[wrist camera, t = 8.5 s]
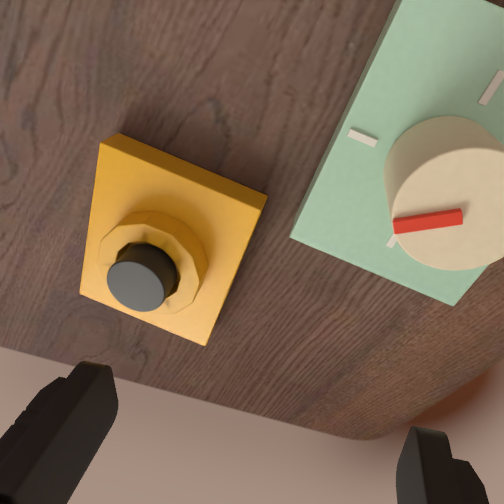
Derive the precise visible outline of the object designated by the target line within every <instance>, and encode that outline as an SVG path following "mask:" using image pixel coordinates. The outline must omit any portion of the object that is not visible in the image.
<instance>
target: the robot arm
mask: <svg viewBox="0 0 504 504" xmlns="http://www.w3.org/2000/svg"><path fill="white" fill-rule="evenodd" d="M117 411H118V398H117V393H116V388H115V383H114V378H113V373H112V369H111V367H110V366H108V365H103V364H98V363H93V362H87V361H82V362H80V363H79V364H78V365H77V366H76V367H75V368H74V369H73V371H72V372H71V373H70V375H69V376H68V377H67V378H63V377H58V378H57V379H56V380H54V381H53V382H51V383H50V384H49V385H47V386H46V387H44V388H43V389H41V390H40V391H39V392H38V394H37V395H36V396H35V397H34V399H33V400H32V401H31V402H30V403H29V405H28V406H27V407H26V410H25V411H23V412H22V413H21V415H19V417H18V418H17V419H16V420H15V423H14V425H11V426H10V428H9V429H8V430H7V431H6V432H5V434H4V435H3V436H2V437H1V439H0V504H67V502H68V501H69V499H70V497H71V495H72V494H73V492H74V490H75V489H76V487H77V485H78V483H79V481H80V480H81V478H82V476H83V475H84V473H85V471H86V470H87V468H88V466H89V464H90V463H91V461H92V459H93V457H94V456H95V454H96V452H97V451H98V449H99V447H100V445H101V444H102V442H103V440H104V439H105V437H106V435H107V433H108V432H109V430H110V428H111V427H112V425H113V423H114V421H115V418H116V415H117ZM396 490H397V501H398V504H489V502H488V498H487V495H486V491H485V487H484V485H483V483H482V482H481V480H480V479H479V477H478V475H477V474H476V472H475V471H474V469H473V468H472V466H471V465H470V463H469V462H468V461H463V460H458V459H453V458H452V453H451V449H450V444H449V440H448V437H447V435H446V434H445V433H444V432H441V431H436V430H430V429H425V428H420V427H415V426H412V427H411V428H410V430H409V433H408V436H407V439H406V441H405V444H404V447H403V450H402V452H401V455H400V458H399V461H398V465H397V471H396Z"/></svg>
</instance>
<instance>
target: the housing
mask: <svg viewBox="0 0 504 504" xmlns="http://www.w3.org/2000/svg"><path fill="white" fill-rule="evenodd" d="M267 198H268V196H267V195H265V194H262V193H260V192H258V191H255V190H253V189H250V188H248V187H246V186H243V185H241V184H239V183H236V182H234V181H232V180H229V179H227V178H224V177H222V176H220V175H217V174H215V173H213V172H210V171H208V170H206V169H203V168H201V167H198V166H196V165H194V164H191V163H189V162H187V161H184V160H182V159H179V158H177V157H175V156H172V155H170V154H168V153H165V152H163V151H161V150H158V149H156V148H153V147H151V146H149V145H146V144H144V143H142V142H139V141H137V140H134V139H132V138H130V137H127V136H125V135H123V134H120V133H117V134H115V135H113V136H111V137H109V138H108V139H106V140H104V141H102V142H100V148H99V155H98V162H97V169H96V177H95V184H94V191H93V198H92V205H91V213H90V220H89V227H88V234H87V242H86V249H85V256H84V263H83V270H82V278H81V285H80V292H79V293H80V294H82V295H84V296H86V297H89V298H91V299H94V300H96V301H98V302H101V303H103V304H105V305H108V306H110V307H113V308H115V309H117V310H120V311H122V312H124V313H127V314H129V315H132V316H134V317H136V318H139V319H141V320H143V321H146V322H148V323H151V324H153V325H155V326H158V327H160V328H162V329H165V330H167V331H170V332H172V333H174V334H177V335H179V336H182V337H184V338H186V339H189V340H191V341H193V342H196V343H198V344H201V345H203V346H206V345H207V342H208V340H209V338H210V336H211V333H212V331H213V329H214V326H215V324H216V322H217V319H218V317H219V314H220V312H221V309H222V307H223V305H224V302H225V300H226V297H227V295H228V292H229V290H230V288H231V285H232V283H233V280H234V278H235V275H236V273H237V271H238V268H239V266H240V263H241V261H242V259H243V256H244V254H245V251H246V249H247V246H248V244H249V242H250V239H251V237H252V234H253V232H254V229H255V227H256V225H257V222H258V220H259V217H260V215H261V212H262V210H263V208H264V205H265V203H266V200H267ZM137 244H149V245H153V246H156V247H158V248H160V249H161V250H163V251H164V252H166V253H167V254H168V255H169V256H170V258H171V259H172V260H173V262H174V264H175V266H176V270H177V280H176V283H175V285H174V286H173V288H172V289H171V291H170V292H169V294H168V295H167V297H166V299H165V300H164V302H163V303H162V305H161V306H160V307H158V308H157V309H155V310H153V311H149V312H140V311H135V310H132V309H129V308H127V307H125V306H124V305H122V304H121V303H120V302H118V301H117V300H116V299H115V298H114V296H113V295H112V293H111V292H110V290H109V288H108V285H107V273H108V271H109V269H110V267H111V266H112V265H113V264H114V263H115V262H116V261H117V260H118V259H119V258H120V257H121V255H122V254H123V253H124V252H125V251H126V250H127V249H128V248H130V247H131V246H133V245H137Z"/></svg>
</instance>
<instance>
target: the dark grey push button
mask: <svg viewBox="0 0 504 504" xmlns="http://www.w3.org/2000/svg"><path fill="white" fill-rule="evenodd" d="M176 280H177V270H176V266H175V264H174V262H173V260H172V259H171V258H170V256H169V255H168V254H167V253H166V252H164V251H163V250H161V249H160V248H158V247H156V246H153V245H149V244H137V245H133V246H131V247H130V248H128V249H127V250H126V251H125V252H124V253H123V254H122V255H121V257H120V258H119V259H118V260H117V261H116V262H115V263H114V264H113V265H112V266H111V267H110V269H109V271H108V273H107V285H108V288H109V290H110V292H111V293H112V295H113V296H114V298H115V299H116V300H117V301H118V302H120V303H121V304H122V305H124V306H125V307H127V308H129V309H132V310H135V311H140V312H149V311H153V310H155V309H157V308H158V307H160V306H161V305H162V303H163V302H164V300H165V299H166V297H167V295H168V294H169V292H170V291H171V289H172V288H173V286H174V285H175V283H176Z"/></svg>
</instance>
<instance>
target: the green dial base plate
mask: <svg viewBox="0 0 504 504" xmlns="http://www.w3.org/2000/svg"><path fill="white" fill-rule="evenodd" d="M440 116H459V117H464V118H467V119H470V120H473V121H475V122H476V123H478V124H480V125H481V126H482V127H484V128H485V129H486V130H487V131H488V132H489V133H491V134H492V135H493V136H494V137H495V138H496V139H497V140H499V141H500V142H501V143H502V144H503V145H504V8H502V7H500V6H498V5H495V4H493V3H491V2H488V1H486V0H396V1H395V4H394V6H393V8H392V10H391V12H390V14H389V16H388V18H387V21H386V23H385V25H384V27H383V29H382V31H381V33H380V36H379V38H378V40H377V42H376V44H375V46H374V48H373V50H372V53H371V55H370V57H369V59H368V61H367V63H366V65H365V67H364V70H363V72H362V74H361V76H360V78H359V80H358V82H357V85H356V87H355V89H354V91H353V93H352V95H351V97H350V99H349V102H348V104H347V106H346V108H345V110H344V112H343V114H342V117H341V119H340V121H339V123H338V125H337V127H336V129H335V131H334V134H333V136H332V138H331V140H330V142H329V144H328V146H327V149H326V151H325V153H324V155H323V157H322V159H321V161H320V163H319V166H318V168H317V170H316V172H315V174H314V176H313V178H312V181H311V183H310V185H309V187H308V189H307V191H306V193H305V195H304V198H303V200H302V202H301V204H300V206H299V208H298V210H297V213H296V215H295V218H294V222H293V226H292V229H291V233H290V236H289V237H290V238H292V239H295V240H297V241H299V242H302V243H304V244H307V245H309V246H311V247H314V248H316V249H318V250H321V251H323V252H325V253H328V254H330V255H333V256H335V257H337V258H340V259H342V260H344V261H347V262H349V263H352V264H354V265H356V266H359V267H361V268H363V269H366V270H368V271H370V272H373V273H375V274H378V275H380V276H382V277H385V278H387V279H389V280H392V281H394V282H397V283H399V284H401V285H404V286H406V287H408V288H411V289H413V290H415V291H418V292H420V293H423V294H425V295H427V296H430V297H432V298H434V299H437V300H439V301H442V302H444V303H446V304H449V305H451V306H454V305H455V304H456V303H457V302H458V300H459V299H460V298H461V297H462V296H463V294H464V293H465V292H466V291H467V290H468V289H469V287H470V286H471V285H472V284H473V283H474V282H475V280H476V279H477V278H478V277H479V276H480V274H481V273H482V272H483V271H484V270H485V269H486V267H487V266H488V265H489V264H488V265H485V266H482V267H478V268H474V269H468V270H457V271H455V270H442V269H437V268H433V267H430V266H427V265H425V264H422V263H420V262H419V261H417V260H415V259H414V258H412V257H411V256H409V255H408V254H407V253H406V252H405V251H404V250H403V249H402V247H401V246H400V245H399V243H398V241H397V240H396V238H395V235H394V233H393V229H392V225H391V219H390V214H389V209H388V203H387V198H386V192H385V187H384V181H383V168H384V163H385V160H386V157H387V154H388V153H389V151H390V149H391V147H392V146H393V144H394V143H395V142H396V140H397V139H398V138H399V137H400V136H401V135H402V134H403V133H404V132H405V131H407V130H408V129H410V128H411V127H413V126H414V125H416V124H418V123H420V122H422V121H425V120H427V119H431V118H434V117H440Z"/></svg>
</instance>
